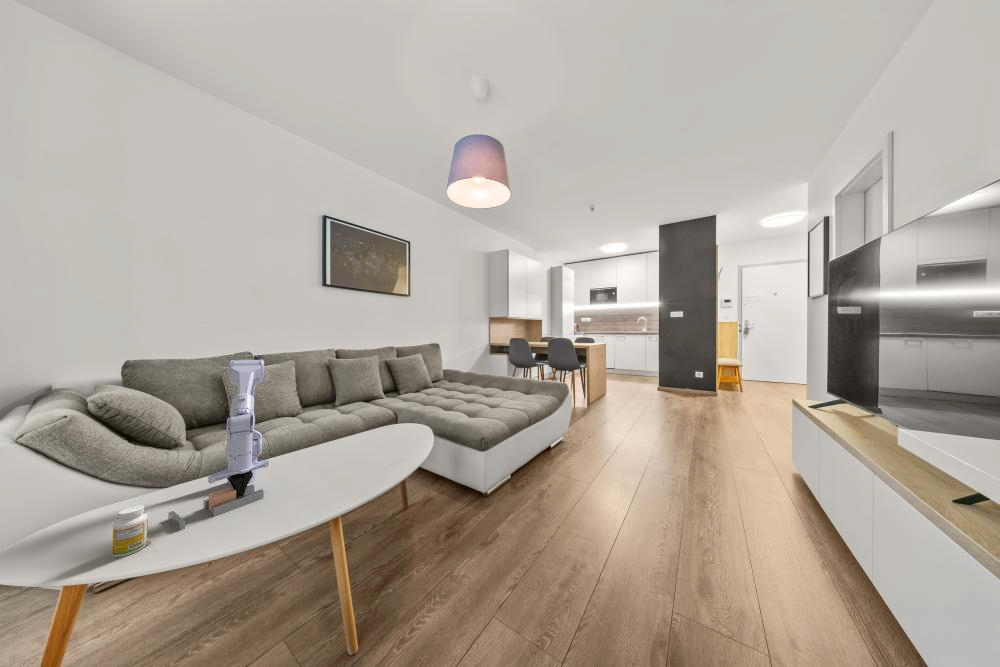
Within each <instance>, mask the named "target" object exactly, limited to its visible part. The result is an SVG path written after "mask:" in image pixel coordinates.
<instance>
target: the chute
mask: <svg viewBox="0 0 1000 667" xmlns="http://www.w3.org/2000/svg"><path fill="white" fill-rule="evenodd" d="M264 494H265V491H264V490H263V488H261V489H257V490H256V491H255V485H254V484H248V485H247V487H246V490H245V493H244V495H243V496H240V497H237V498H234V499H232V500H229V501H226V502H223V503H220V504H217V505H214V506H212V512H211V516H212V517H214V518H215V517H216V516H217V517H218V516H219V515H221V514H225V513H227V512H230V511H233V510H235V509H238V508H241V507H244V506H246V505H250V504H252V503H254V502H257V501H260V500H262V499H264ZM202 502H203V503H202V505H203V506H202V510H204V511H209V510H208V505H209V498H207V499H203V500H202ZM167 516H168V517H167V521H169V522H170V523H171V524H172V525H173V526H174V527H175V528H176V529H177V530H178V531H179V532H180V531H183V530H185V529H186V520H185V519H183V518H182V517H181V516H180V515H179V514H178V513H177V512H175V511H174V510H172V511H168V514H167Z"/></svg>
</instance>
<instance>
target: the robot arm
mask: <svg viewBox="0 0 1000 667" xmlns="http://www.w3.org/2000/svg"><path fill="white" fill-rule="evenodd" d="M227 368H228V373H227V374H228V377H229V382H230V384H231V385H234V386H235V385H236V389H237V390H236V394H237V395H235V396H233V397H232V399H231V405H230V407H231V408H230V414H229V417H227V419H226V435H227V440H226V446H225V460H226V461H227V468H226V469H223V470H221V471H217V472H215V473H213V474H209V475H207V483H208V484H215V483H216V482H218V481H222V480H225V479H227V482H225V483H224V484H227V483H230V487H231V488H233V489H235V490H236V498H237V497H240V496H243V495H244V493H245V490H246V487H247V486H249V485H250V484H252V483H254V482H256V481H257V480H258V469H263V468H267V467H269V466H270V465H269V460H268V459H263V460H258V456H261V455H262V453H263V435H262V433H261V432H260V431H258V430H255V426H256V416H255V410H254V409H255V390H256V387H257V385H258V384H260V383H262V382H263V380H264V375H265V361H264V359H246V360H244V359H242V360H233V359H231V360H230V361H229V362H228V367H227Z"/></svg>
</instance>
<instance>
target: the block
mask: <svg viewBox="0 0 1000 667" xmlns="http://www.w3.org/2000/svg"><path fill="white" fill-rule="evenodd" d="M234 498H236V490H235V489H233V487H232V486H229V487H226V488H224V489H221V490H217V491H213V492H210V493H208V499H209V505H208V510H207V511H210V512H211V513H212V506H214V505H217V504H220V503H223V502H226V501H229V500H232V499H234Z"/></svg>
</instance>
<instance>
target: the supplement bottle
mask: <svg viewBox="0 0 1000 667" xmlns="http://www.w3.org/2000/svg"><path fill="white" fill-rule="evenodd" d="M144 512H145V506H144V505H142V504H140V505H139V504H138V505H133V506H130V507H126V508H124V509H122V510H120V511H119V512H118V518H117V519H118V520H117V521H116V522H115V523H114V524H113V527H112V553H111V554H112V556H113V557H114V558H121V557H127V556H130V555H132V554H135V553H137V552H140V551H141V550H142V549H144V548H145V547H146V546H147V545H148V527H149V526H148V524H149V523H148V522H149V516H148V514H147V513H144Z"/></svg>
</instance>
